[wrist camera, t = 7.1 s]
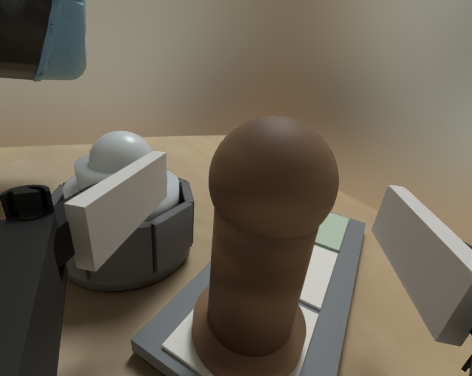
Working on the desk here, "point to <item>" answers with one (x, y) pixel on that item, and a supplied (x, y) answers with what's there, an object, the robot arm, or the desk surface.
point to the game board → (311, 303)
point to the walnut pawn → (262, 245)
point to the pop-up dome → (117, 166)
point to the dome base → (142, 249)
